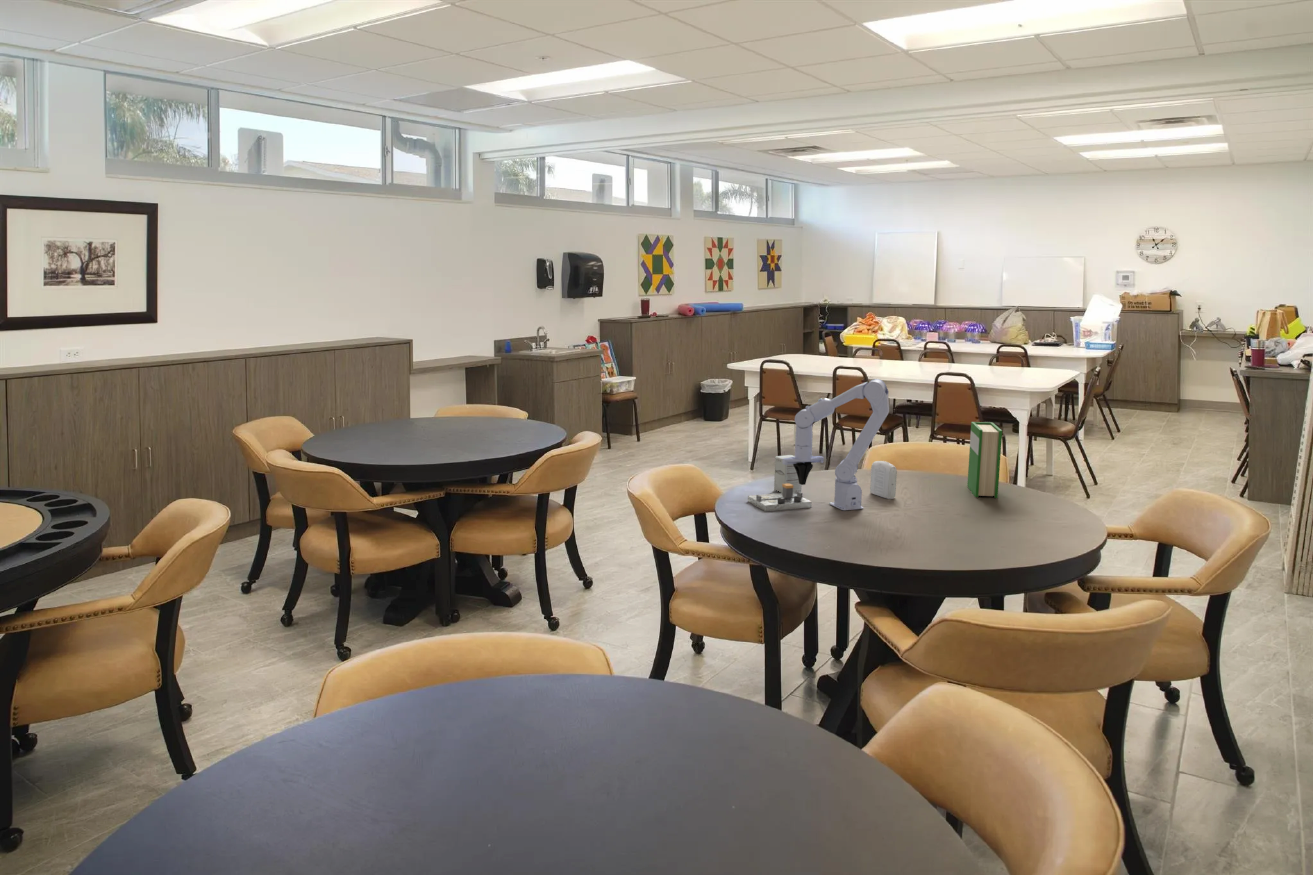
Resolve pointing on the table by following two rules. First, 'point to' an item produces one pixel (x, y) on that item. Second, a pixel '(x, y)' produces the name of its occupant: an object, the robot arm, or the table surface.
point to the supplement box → (785, 475)
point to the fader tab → (787, 490)
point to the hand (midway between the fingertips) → (802, 484)
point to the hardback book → (984, 459)
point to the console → (779, 501)
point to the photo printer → (883, 479)
